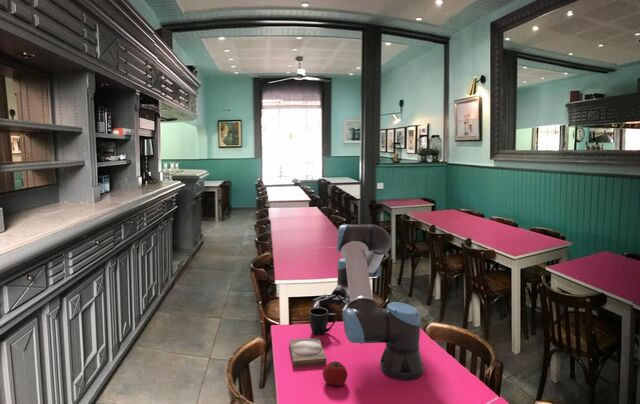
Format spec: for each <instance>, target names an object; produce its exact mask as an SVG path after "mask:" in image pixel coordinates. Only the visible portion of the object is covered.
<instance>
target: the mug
mask: <svg viewBox="0 0 640 404" xmlns="http://www.w3.org/2000/svg"><path fill="white" fill-rule="evenodd" d="M308 315H309V316H308V321H309V322H308V323H309V326H310V329H311V333H312V334H313V335H315V336H323V335H325V334H326V333H328V332H329V331H331V329H332V327H333V326H334V324H335V323H336V321H337V319H338V314H337V313H334V312H333V313H332V312H331V313H329V309H326V308H324V307H319V308H314V307H313V308H311V309H310V310H309V311H308ZM329 316H335V318H334V321H333V322H332V323H331V325H330V326H329V327H328V328H327V326H328V324H329V323H328V322H329Z"/></svg>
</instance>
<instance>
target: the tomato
mask: <svg viewBox="0 0 640 404" xmlns="http://www.w3.org/2000/svg"><path fill="white" fill-rule="evenodd" d="M322 377H323V380H324V382H325V383H326V384H327V385H329V386H336V387H340V386H343V385H344V384H345V383H346V381H347V379H348V371H347V368H346V367H345V366H344V364H343V363H341V362H339V361H336V360H334V361H330V362H329V363H328V364H326V365H325V366H324V368H323V371H322Z"/></svg>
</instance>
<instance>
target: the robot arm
mask: <svg viewBox="0 0 640 404" xmlns="http://www.w3.org/2000/svg"><path fill="white" fill-rule="evenodd" d="M337 231H338V232H337V245H336V251H337V252H339V253H340V254H341V256H342V258H340V259H338V261H337V281H336V282H337V286H336V287H335V288H334V290H333V291H332V292H331V293H330V294H331V295H329V296H328V295H327V294H326V293H325V294H323V295H321V296H318V297H316V298H314V299H312V306H313V308H320V307H321V306H323V305H331V304H332V305H333V304H336V305H340V306H341V307H343V308H342V321H343V328H344V333H345V336H346V338H347V340H348V341H349V342H350V343H352V344H360V345H361V344H362V345H363V344H385V348H384V350H383V353H382V355H381V357H380V361H379V362H380V364H379V365H380V370H381V371H382V372H383V373H384V374H385V375H386V376H388V377H391V378H393V379H396V380H401V381H411V380H416V379H418V378H420V377H421V376H422V375H423V374H424V363H423V359H422V356H421V351H420V337H421V336H420V334H421V333H420V332H421V325H422V323H421V313H420V311H419V310H418V309H417V308H416V307H415V306H413V305H411V304H408V303H405V302H400V301H399V302H398V301H391V302H389V303H388V304H387V305H386V307H385V308H383V307H382V308H379V304H378V303H377V301H376V300H375V299H373V298H374V297H373V293H372V292H373V291H372V287H371V281H370V278H374V277H375V278H379V277H380V276H381V270H382V269H381V263H382V260H383V259H384V256H385V254H387V253H388V252H389V250H390V249H391V246H392V239H391V236H390V234H389V233H388V231H387V230H386V229H385V228H383V227H382V226H380V225H377V224H351V223H350V224H349V223H347V224H341V225H339V226H338V230H337Z"/></svg>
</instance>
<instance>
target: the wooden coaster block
mask: <svg viewBox="0 0 640 404" xmlns="http://www.w3.org/2000/svg"><path fill="white" fill-rule="evenodd" d="M289 350H290V356H291V361H292V367H293V368H304V367H316V366H324V365H325V366H326V365H327V356H326V354H325V351H324V348H323V346H322V341H321V339H320V337H309V338H296V339H293V338H292V339H289Z"/></svg>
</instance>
